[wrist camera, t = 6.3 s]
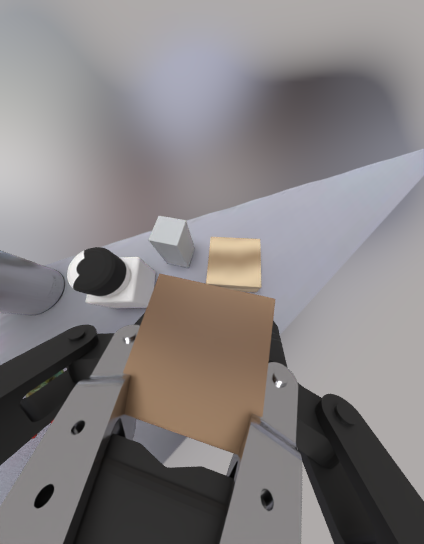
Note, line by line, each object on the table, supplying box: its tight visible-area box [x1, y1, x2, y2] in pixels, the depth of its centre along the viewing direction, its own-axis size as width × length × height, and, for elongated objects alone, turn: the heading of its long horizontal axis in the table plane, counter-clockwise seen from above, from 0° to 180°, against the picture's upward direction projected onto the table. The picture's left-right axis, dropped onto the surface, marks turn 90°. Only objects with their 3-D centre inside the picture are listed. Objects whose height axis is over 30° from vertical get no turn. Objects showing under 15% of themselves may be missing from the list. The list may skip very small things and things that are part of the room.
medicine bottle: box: [67, 247, 156, 309], centre depth 25 cm, size 7×7×12 cm
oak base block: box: [206, 237, 261, 292], centre depth 29 cm, size 9×9×4 cm
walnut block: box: [123, 274, 275, 455], centre depth 9 cm, size 4×4×9 cm
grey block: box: [149, 216, 195, 268], centre depth 28 cm, size 4×4×9 cm
